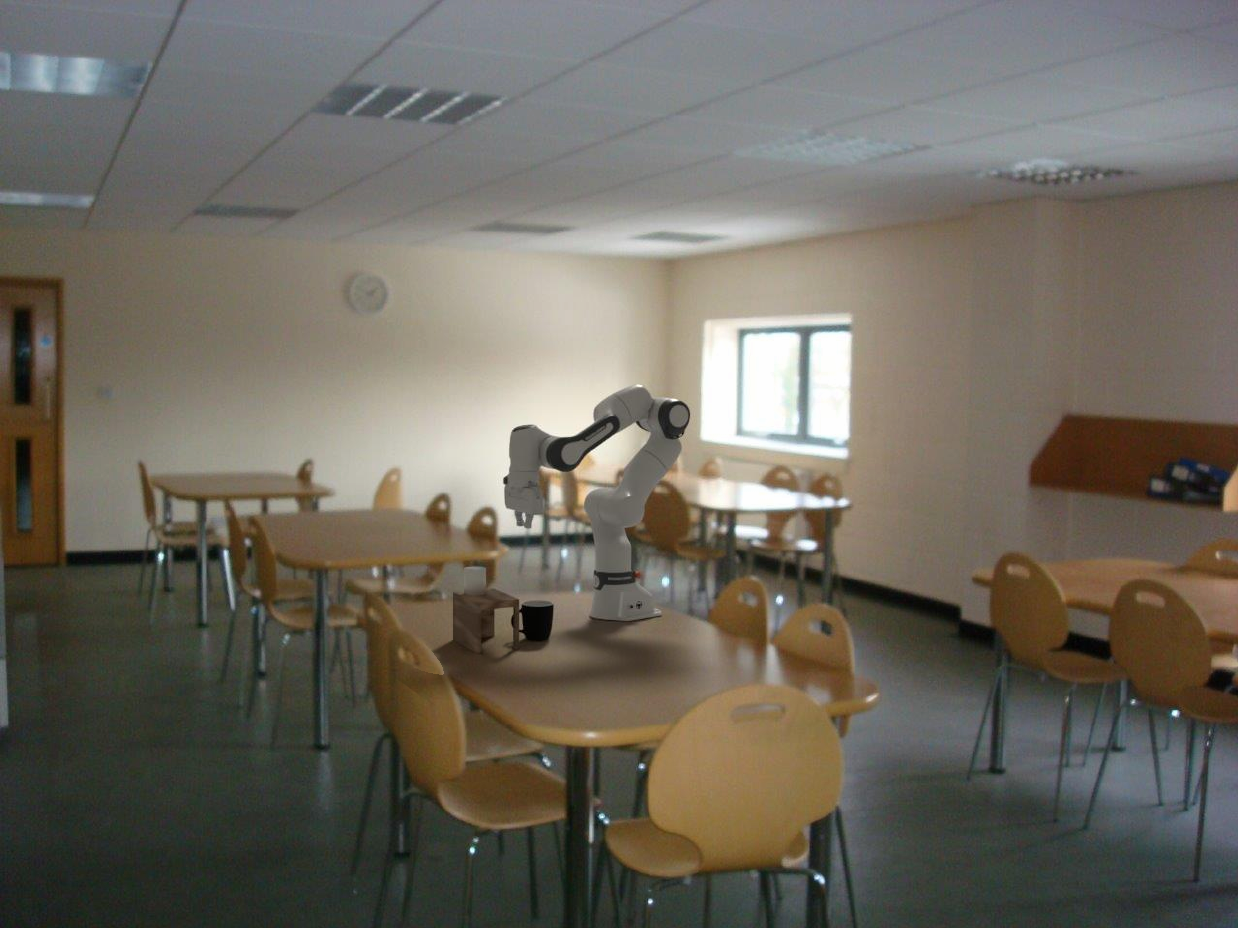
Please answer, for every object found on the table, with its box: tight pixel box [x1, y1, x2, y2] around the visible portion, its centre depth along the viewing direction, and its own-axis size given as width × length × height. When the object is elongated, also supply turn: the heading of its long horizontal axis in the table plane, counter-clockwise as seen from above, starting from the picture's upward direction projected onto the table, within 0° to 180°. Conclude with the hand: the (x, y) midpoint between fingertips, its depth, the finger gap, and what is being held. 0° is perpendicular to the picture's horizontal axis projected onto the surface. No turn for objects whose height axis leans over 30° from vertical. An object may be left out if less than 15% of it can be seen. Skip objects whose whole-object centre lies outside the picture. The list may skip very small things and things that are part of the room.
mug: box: [510, 599, 555, 642], centre depth 325 cm, size 12×9×10 cm
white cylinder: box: [463, 566, 487, 595], centre depth 320 cm, size 6×6×7 cm
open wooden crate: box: [452, 588, 520, 654], centre depth 318 cm, size 12×18×14 cm, turn 29°
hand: (523, 527), depth 341 cm, fingers open, 4 cm apart
